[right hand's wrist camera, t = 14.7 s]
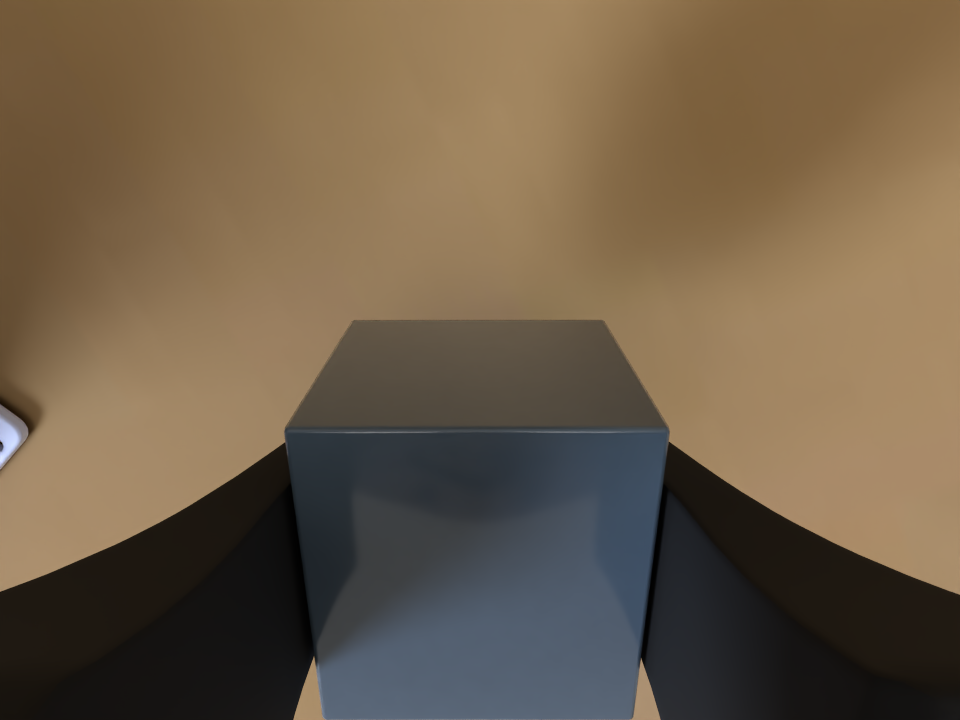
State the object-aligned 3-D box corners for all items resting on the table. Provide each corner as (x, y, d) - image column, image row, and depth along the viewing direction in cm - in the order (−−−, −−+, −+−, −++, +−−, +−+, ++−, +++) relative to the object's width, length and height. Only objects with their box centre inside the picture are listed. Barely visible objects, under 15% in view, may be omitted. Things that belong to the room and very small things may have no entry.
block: (587, 539, 13) (634, 722, 9) (369, 539, 13) (321, 723, 9) (605, 318, 11) (672, 428, 7) (351, 319, 11) (280, 428, 7)
